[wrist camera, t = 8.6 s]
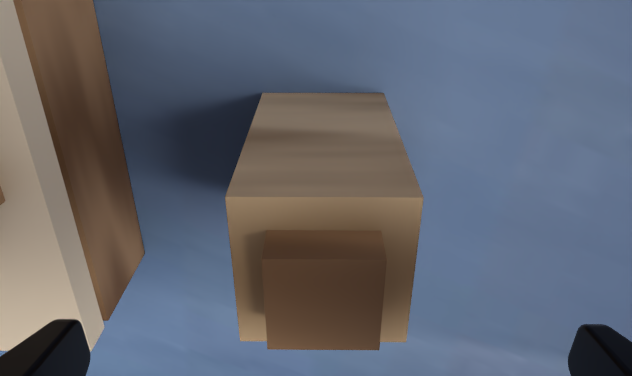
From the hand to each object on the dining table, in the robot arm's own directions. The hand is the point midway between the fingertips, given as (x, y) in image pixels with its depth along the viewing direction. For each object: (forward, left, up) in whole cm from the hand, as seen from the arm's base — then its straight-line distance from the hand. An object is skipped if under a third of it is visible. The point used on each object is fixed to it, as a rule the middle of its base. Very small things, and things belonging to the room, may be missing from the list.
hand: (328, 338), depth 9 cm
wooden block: (0, 0, -9) cm, 9 cm away
